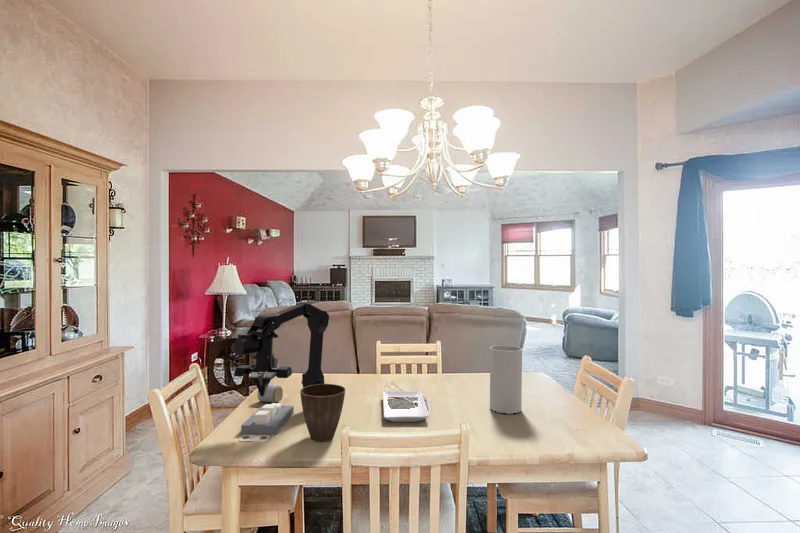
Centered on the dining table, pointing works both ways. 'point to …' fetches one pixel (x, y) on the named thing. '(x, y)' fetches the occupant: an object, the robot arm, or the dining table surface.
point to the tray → (405, 414)
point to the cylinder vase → (505, 379)
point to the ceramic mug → (272, 394)
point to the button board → (272, 426)
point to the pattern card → (255, 438)
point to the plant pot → (322, 409)
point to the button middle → (270, 409)
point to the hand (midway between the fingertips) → (262, 396)
